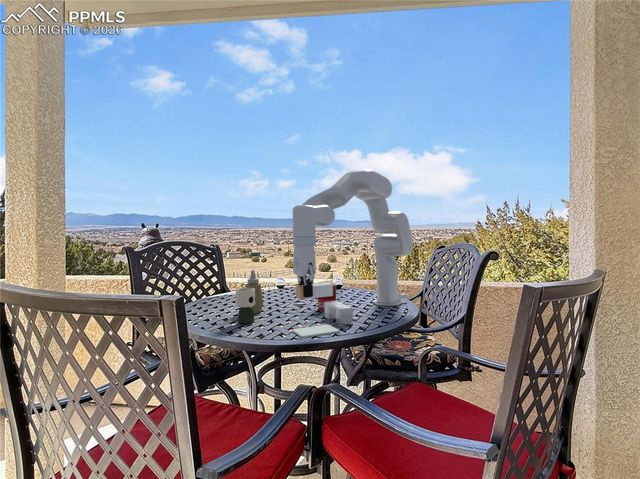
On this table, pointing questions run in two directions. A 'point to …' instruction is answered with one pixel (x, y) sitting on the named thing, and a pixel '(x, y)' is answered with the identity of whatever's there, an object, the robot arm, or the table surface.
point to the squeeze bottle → (256, 292)
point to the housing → (339, 312)
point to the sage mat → (315, 331)
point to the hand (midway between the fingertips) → (305, 295)
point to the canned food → (326, 298)
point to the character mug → (245, 304)
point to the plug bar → (316, 290)
